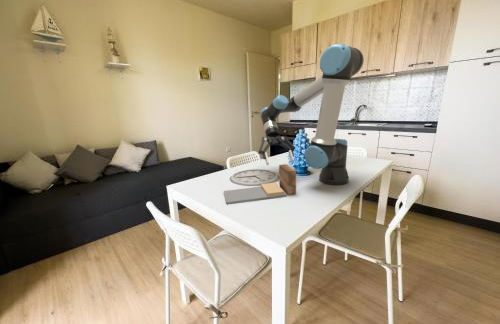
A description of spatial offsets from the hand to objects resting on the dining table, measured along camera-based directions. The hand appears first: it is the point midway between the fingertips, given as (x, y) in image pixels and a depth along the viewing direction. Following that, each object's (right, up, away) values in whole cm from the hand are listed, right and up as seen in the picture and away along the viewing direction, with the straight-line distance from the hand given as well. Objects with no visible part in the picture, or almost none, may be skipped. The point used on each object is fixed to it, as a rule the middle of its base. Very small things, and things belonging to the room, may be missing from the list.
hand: (280, 162), depth 114 cm
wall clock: (-13, -9, +18) cm, 24 cm away
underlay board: (-14, -15, -8) cm, 22 cm away
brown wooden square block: (+3, -14, -5) cm, 15 cm away
